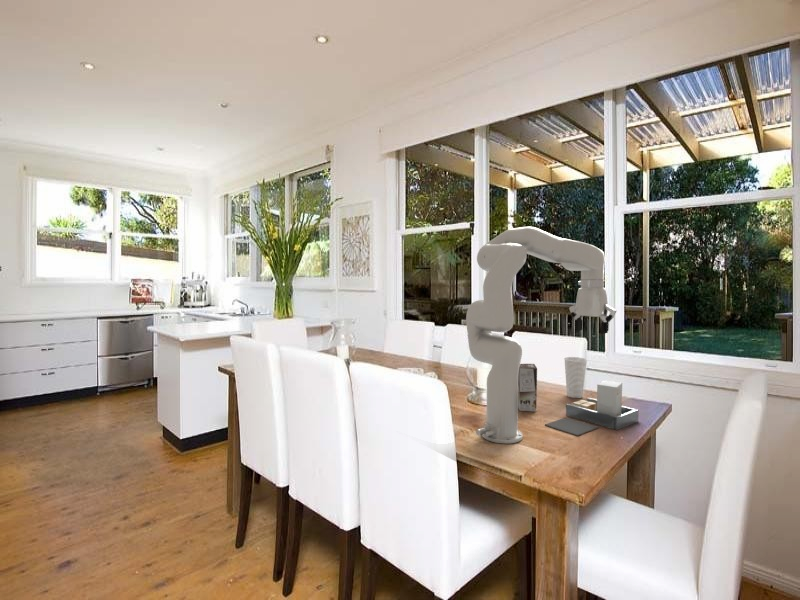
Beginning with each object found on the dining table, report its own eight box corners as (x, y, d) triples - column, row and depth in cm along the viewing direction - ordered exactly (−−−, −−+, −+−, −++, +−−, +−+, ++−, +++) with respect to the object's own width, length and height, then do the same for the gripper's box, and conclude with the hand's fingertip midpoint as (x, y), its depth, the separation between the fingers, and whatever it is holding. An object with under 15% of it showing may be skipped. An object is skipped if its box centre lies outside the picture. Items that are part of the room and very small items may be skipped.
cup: (559, 395, 183) (560, 358, 182) (570, 392, 188) (571, 356, 187) (578, 400, 176) (579, 362, 175) (589, 396, 181) (590, 359, 180)
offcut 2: (586, 417, 156) (587, 406, 156) (580, 415, 158) (580, 404, 158) (595, 414, 159) (596, 403, 159) (589, 412, 161) (589, 401, 161)
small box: (602, 415, 158) (603, 379, 157) (621, 419, 154) (622, 382, 153) (596, 421, 151) (596, 384, 150) (616, 425, 147) (617, 387, 146)
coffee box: (537, 412, 162) (537, 368, 161) (518, 411, 163) (519, 367, 162) (534, 404, 171) (535, 363, 170) (517, 403, 172) (517, 362, 171)
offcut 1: (579, 415, 158) (579, 404, 158) (572, 413, 161) (572, 402, 160) (588, 412, 162) (588, 401, 162) (581, 410, 164) (582, 399, 164)
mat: (577, 436, 138) (577, 435, 138) (544, 425, 148) (544, 424, 148) (598, 428, 145) (598, 426, 145) (566, 418, 155) (566, 417, 155)
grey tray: (616, 430, 143) (617, 418, 143) (566, 415, 158) (566, 404, 158) (638, 421, 151) (638, 409, 151) (588, 407, 166) (588, 397, 166)
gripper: (564, 284, 163) (564, 330, 165) (610, 285, 150) (609, 335, 151) (575, 283, 168) (575, 328, 169) (621, 284, 154) (620, 333, 155)
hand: (591, 331), depth 160 cm, fingers open, 9 cm apart
